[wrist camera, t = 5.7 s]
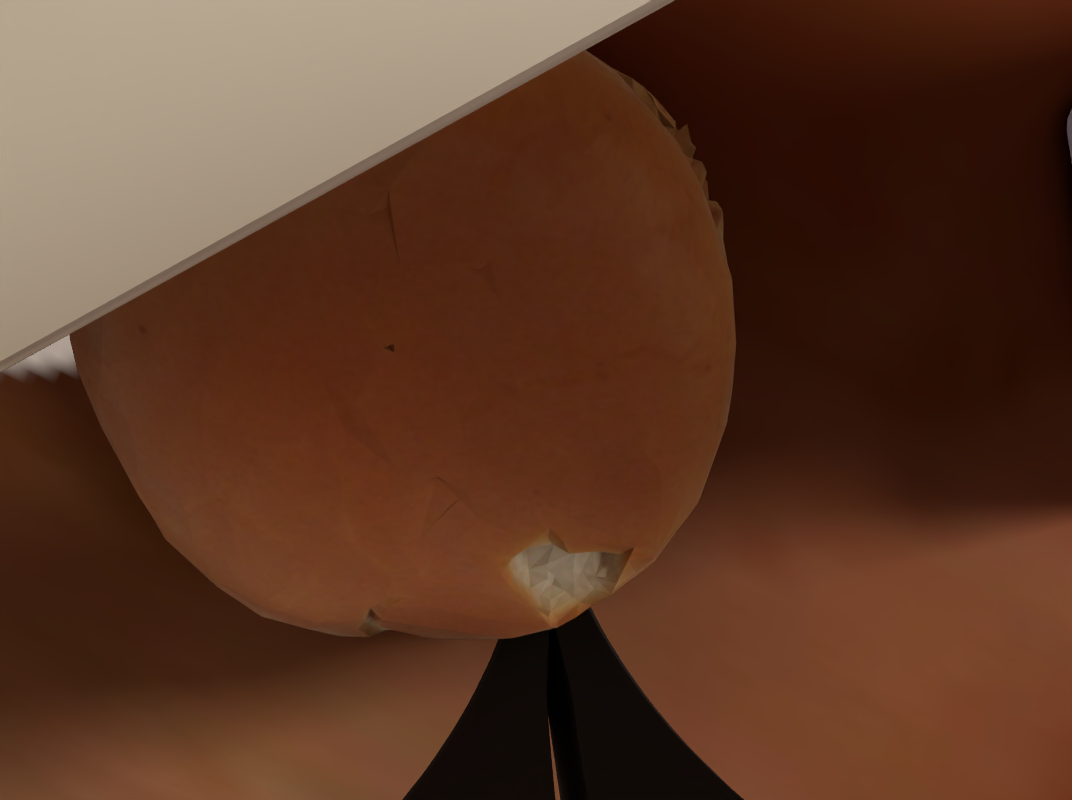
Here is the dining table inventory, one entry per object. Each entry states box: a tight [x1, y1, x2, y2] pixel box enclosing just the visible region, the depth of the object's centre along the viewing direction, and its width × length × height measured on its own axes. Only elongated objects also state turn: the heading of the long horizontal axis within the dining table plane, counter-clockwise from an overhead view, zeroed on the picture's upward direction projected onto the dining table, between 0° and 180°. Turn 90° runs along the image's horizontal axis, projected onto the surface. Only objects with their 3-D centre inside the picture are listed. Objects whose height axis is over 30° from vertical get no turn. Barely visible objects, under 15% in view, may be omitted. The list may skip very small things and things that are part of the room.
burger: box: [70, 50, 736, 640], centre depth 10 cm, size 10×9×5 cm
